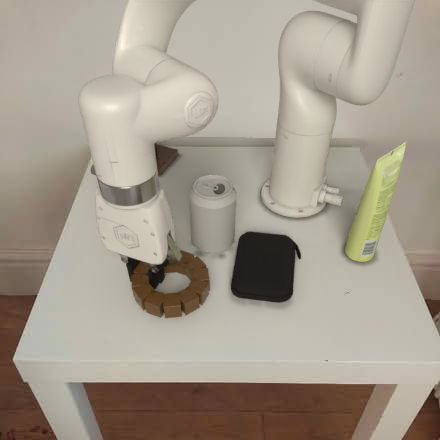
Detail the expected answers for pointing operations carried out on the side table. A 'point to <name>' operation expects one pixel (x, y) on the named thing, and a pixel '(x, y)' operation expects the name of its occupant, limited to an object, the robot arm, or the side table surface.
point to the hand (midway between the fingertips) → (147, 278)
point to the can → (212, 213)
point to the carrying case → (264, 267)
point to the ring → (173, 302)
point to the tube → (374, 206)
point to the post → (164, 157)
